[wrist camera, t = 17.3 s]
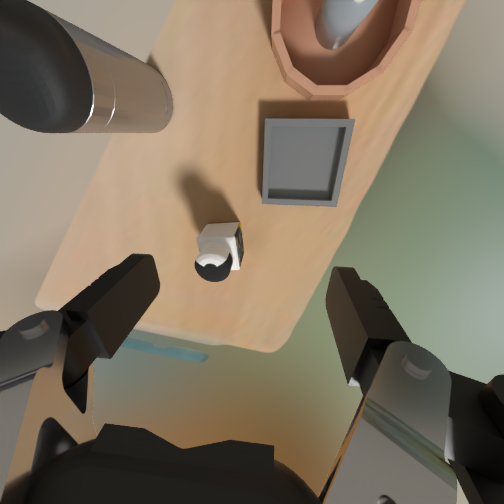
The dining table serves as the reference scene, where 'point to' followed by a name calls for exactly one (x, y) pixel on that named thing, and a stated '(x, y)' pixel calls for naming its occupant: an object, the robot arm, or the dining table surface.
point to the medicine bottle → (219, 250)
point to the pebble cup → (340, 20)
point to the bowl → (344, 58)
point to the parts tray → (305, 160)
